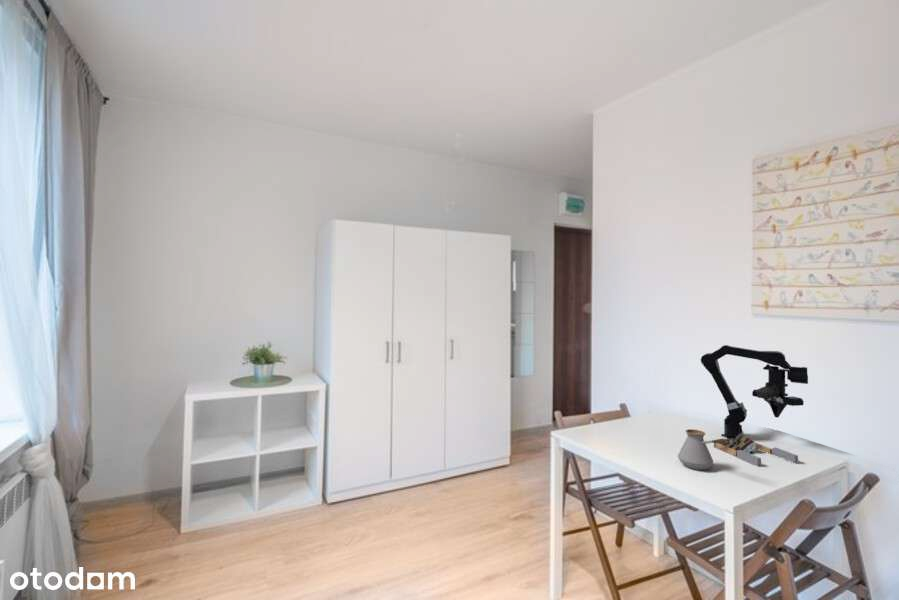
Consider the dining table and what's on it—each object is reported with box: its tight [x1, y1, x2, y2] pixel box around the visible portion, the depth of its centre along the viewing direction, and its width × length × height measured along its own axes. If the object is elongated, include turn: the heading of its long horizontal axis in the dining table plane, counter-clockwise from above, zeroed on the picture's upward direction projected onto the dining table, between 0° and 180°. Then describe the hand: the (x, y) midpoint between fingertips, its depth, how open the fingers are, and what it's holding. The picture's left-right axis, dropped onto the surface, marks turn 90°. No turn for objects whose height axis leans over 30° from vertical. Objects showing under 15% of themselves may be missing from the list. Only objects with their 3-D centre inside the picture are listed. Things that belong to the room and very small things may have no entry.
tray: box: [713, 441, 773, 458], centre depth 173 cm, size 11×17×2 cm, turn 100°
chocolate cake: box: [726, 430, 757, 454], centre depth 173 cm, size 10×7×12 cm
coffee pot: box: [677, 428, 737, 471], centre depth 152 cm, size 21×12×15 cm, turn 19°
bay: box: [736, 446, 799, 467], centre depth 163 cm, size 9×18×3 cm, turn 100°
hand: (776, 417), depth 180 cm, fingers closed
